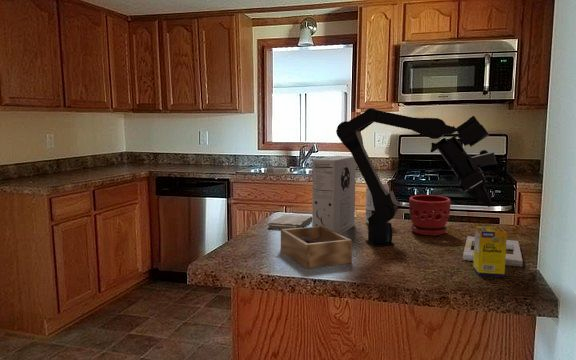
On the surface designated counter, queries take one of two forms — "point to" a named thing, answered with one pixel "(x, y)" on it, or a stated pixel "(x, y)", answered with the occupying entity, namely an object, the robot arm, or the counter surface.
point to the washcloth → (289, 222)
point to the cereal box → (334, 193)
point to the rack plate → (510, 258)
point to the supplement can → (369, 201)
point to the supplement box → (490, 251)
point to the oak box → (316, 247)
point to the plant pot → (429, 214)
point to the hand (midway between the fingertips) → (489, 203)
